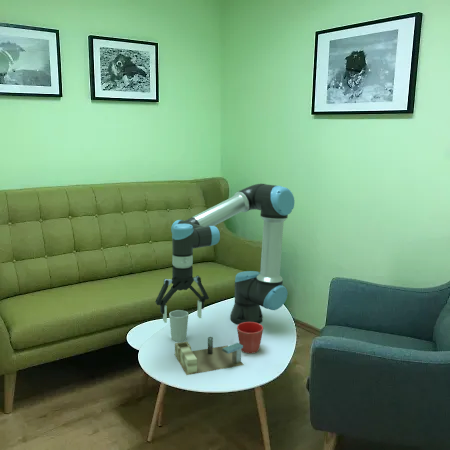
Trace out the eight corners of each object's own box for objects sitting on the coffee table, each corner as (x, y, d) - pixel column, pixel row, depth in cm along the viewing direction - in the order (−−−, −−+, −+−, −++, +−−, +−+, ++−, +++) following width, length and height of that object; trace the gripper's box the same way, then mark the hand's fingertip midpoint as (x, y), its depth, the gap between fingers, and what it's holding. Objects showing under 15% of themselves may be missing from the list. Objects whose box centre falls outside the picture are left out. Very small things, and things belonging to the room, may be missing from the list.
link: (199, 371, 171) (199, 358, 170) (185, 373, 169) (185, 361, 168) (187, 353, 185) (187, 341, 184) (174, 355, 183) (174, 343, 182)
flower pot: (232, 352, 188) (233, 329, 186) (241, 341, 198) (242, 319, 196) (257, 357, 184) (258, 334, 182) (265, 345, 194) (266, 324, 192)
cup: (185, 345, 193) (185, 318, 191) (166, 343, 195) (166, 316, 192) (190, 337, 201) (190, 311, 198) (172, 335, 202) (172, 309, 200)
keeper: (221, 365, 175) (222, 348, 174) (236, 359, 180) (237, 342, 179) (227, 368, 173) (227, 351, 172) (242, 362, 178) (243, 345, 177)
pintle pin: (211, 351, 186) (211, 336, 185) (213, 353, 184) (213, 338, 183) (206, 352, 185) (207, 337, 184) (208, 354, 184) (208, 339, 182)
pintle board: (227, 347, 192) (227, 345, 192) (244, 367, 176) (244, 364, 176) (174, 356, 184) (174, 353, 184) (186, 377, 168) (186, 375, 168)
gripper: (151, 271, 166) (152, 327, 170) (217, 265, 175) (216, 318, 179) (147, 265, 173) (147, 319, 177) (210, 260, 182) (210, 311, 186)
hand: (182, 319), depth 178 cm, fingers open, 13 cm apart
